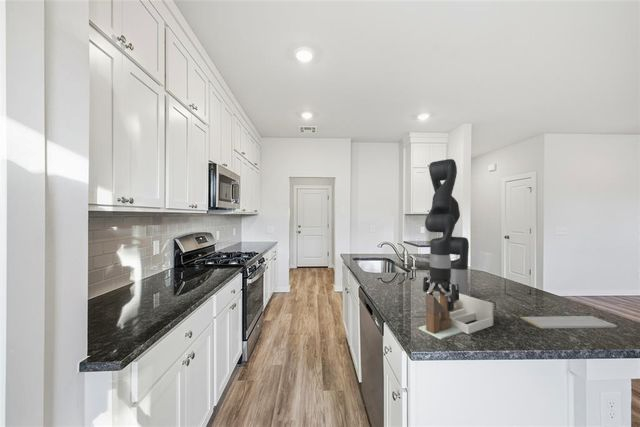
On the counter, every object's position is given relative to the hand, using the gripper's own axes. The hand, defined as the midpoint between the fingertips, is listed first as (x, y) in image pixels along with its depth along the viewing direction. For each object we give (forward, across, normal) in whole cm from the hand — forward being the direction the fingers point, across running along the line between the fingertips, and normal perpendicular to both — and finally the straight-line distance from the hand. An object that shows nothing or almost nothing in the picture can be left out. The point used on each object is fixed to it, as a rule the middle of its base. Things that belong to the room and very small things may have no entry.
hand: (440, 307), depth 101 cm
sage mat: (+9, 0, 0) cm, 9 cm away
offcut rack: (+9, +2, -15) cm, 18 cm away
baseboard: (+10, -19, -53) cm, 58 cm away
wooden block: (+9, 0, 0) cm, 9 cm away
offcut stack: (+9, +8, -15) cm, 19 cm away
